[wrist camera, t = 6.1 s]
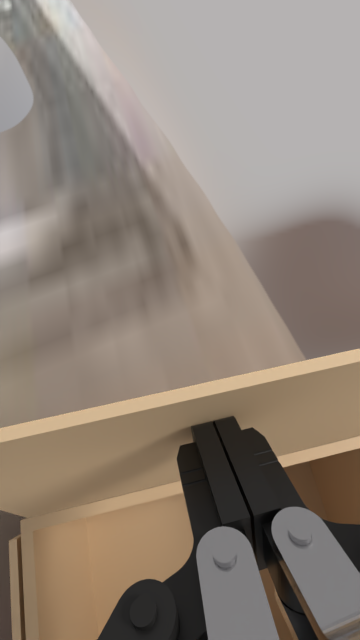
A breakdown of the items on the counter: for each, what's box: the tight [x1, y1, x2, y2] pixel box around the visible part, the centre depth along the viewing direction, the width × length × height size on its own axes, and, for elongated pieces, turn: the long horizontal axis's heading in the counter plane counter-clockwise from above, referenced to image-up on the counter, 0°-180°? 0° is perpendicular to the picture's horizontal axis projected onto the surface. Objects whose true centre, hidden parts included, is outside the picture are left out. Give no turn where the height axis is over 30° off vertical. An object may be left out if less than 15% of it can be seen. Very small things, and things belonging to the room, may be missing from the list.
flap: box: [0, 349, 360, 518], centre depth 14 cm, size 19×1×10 cm, turn 103°
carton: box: [9, 435, 360, 640], centre depth 21 cm, size 21×15×11 cm
